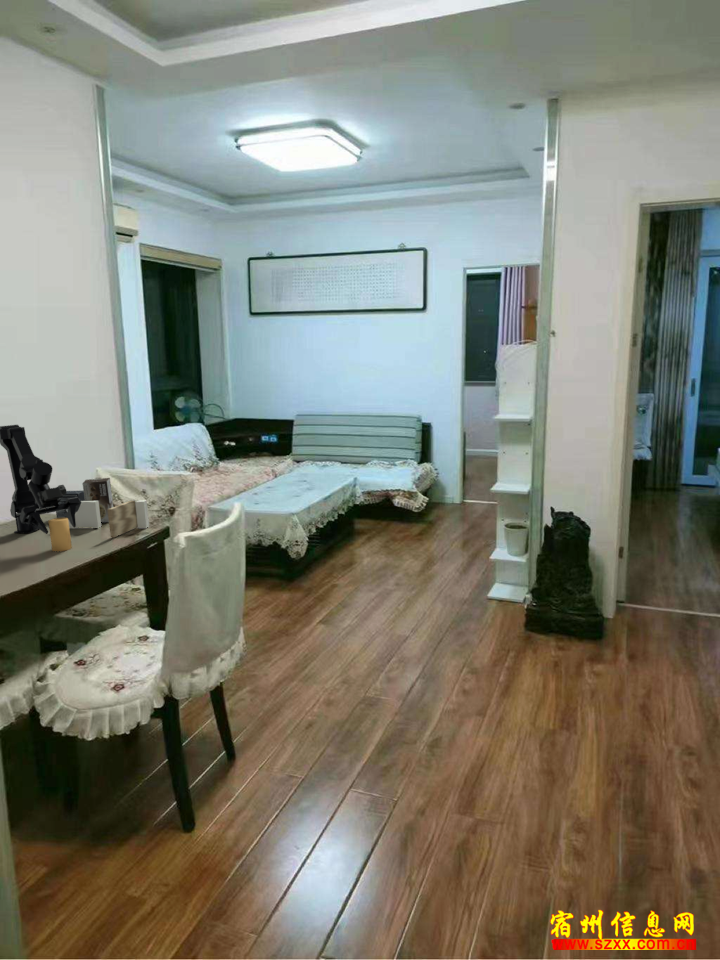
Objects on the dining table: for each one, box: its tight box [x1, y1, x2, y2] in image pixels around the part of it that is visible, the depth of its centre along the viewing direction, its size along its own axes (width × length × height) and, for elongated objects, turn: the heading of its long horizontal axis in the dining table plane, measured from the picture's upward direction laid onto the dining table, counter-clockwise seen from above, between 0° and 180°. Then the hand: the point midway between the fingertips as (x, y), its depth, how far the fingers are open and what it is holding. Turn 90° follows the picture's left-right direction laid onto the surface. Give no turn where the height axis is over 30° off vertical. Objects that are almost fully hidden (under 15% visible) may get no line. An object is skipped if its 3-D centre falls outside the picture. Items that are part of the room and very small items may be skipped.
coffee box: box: [82, 477, 114, 523], centre depth 255 cm, size 9×6×16 cm
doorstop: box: [47, 517, 73, 553], centre depth 221 cm, size 6×6×10 cm
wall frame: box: [68, 499, 150, 529], centre depth 246 cm, size 30×2×10 cm, turn 83°
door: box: [107, 499, 138, 538], centre depth 238 cm, size 14×2×10 cm, turn 163°
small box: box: [55, 490, 85, 518], centre depth 263 cm, size 11×6×10 cm, turn 84°
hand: (61, 529), depth 220 cm, fingers open, 9 cm apart
